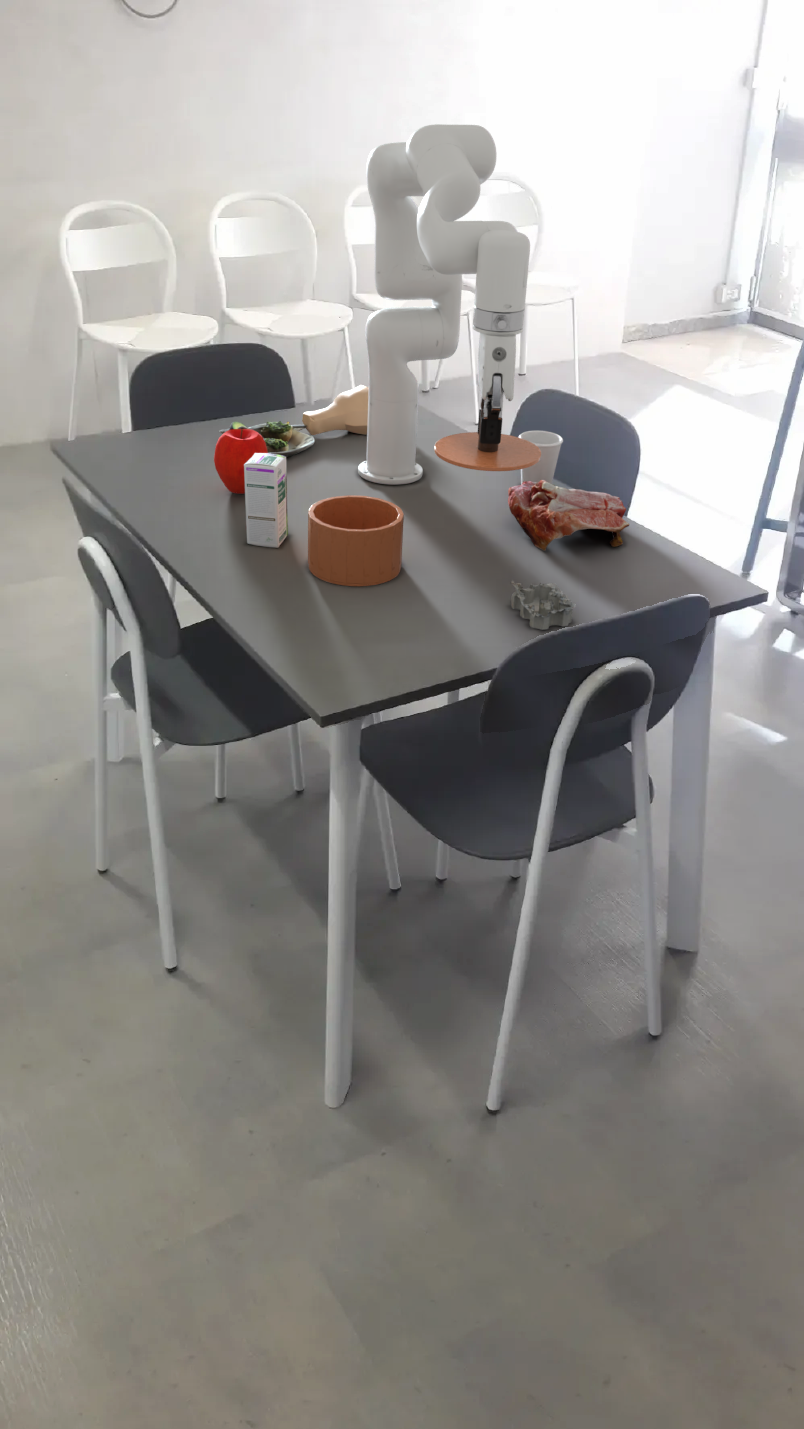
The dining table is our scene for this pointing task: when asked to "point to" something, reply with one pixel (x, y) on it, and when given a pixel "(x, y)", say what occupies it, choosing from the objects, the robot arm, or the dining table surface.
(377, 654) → the dining table surface
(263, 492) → the syrup box
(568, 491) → the meat
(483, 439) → the robot arm
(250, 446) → the apple
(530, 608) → the egg carton
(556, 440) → the dixie cup
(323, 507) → the pot
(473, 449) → the lid
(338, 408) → the squash
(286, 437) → the salad plate
